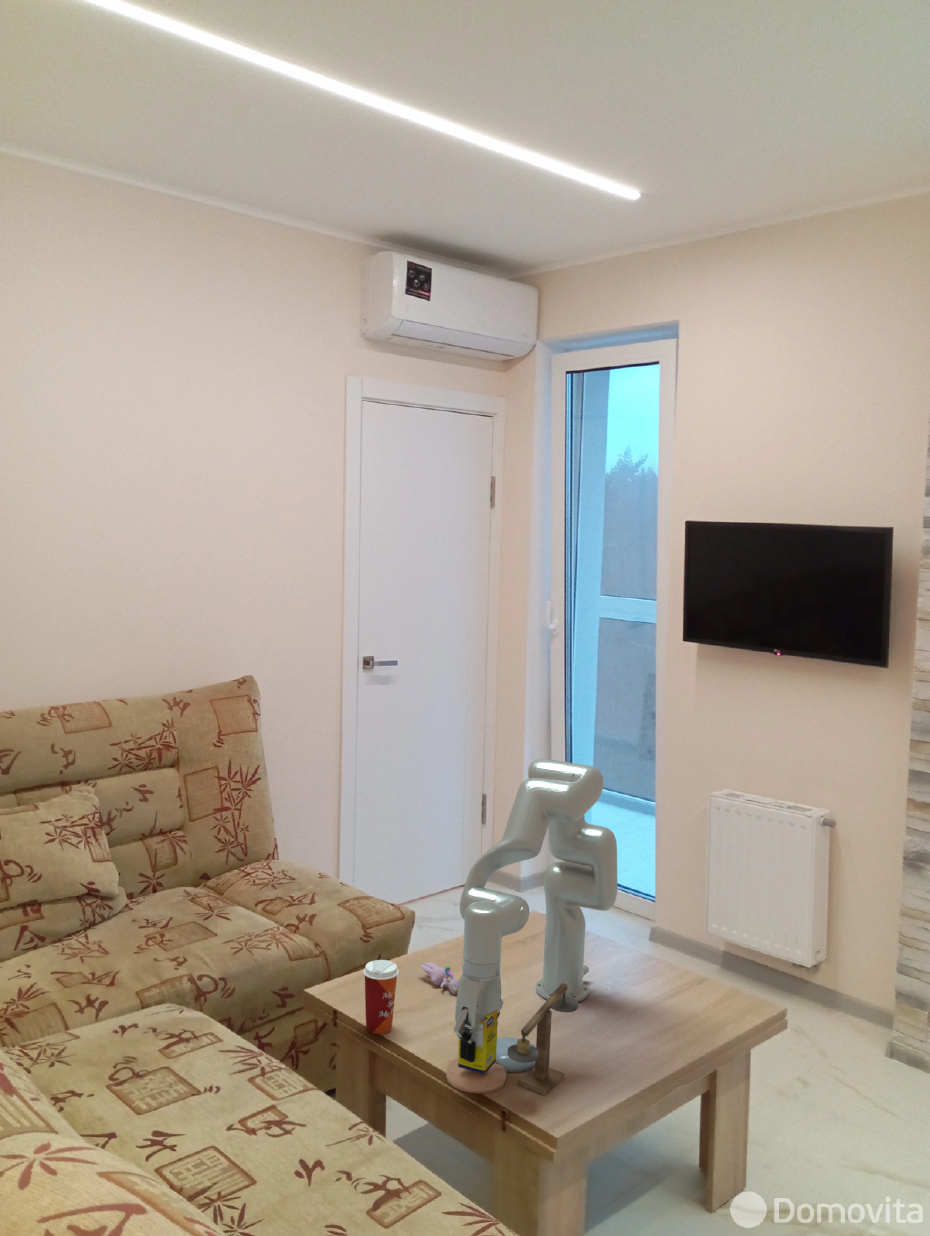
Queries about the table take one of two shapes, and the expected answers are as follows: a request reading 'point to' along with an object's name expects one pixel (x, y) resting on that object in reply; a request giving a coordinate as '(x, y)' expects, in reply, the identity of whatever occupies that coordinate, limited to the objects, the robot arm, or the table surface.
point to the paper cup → (380, 995)
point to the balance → (541, 1044)
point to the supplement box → (483, 1045)
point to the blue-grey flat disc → (505, 1060)
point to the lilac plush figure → (441, 976)
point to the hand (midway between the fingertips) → (477, 1051)
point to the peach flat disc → (476, 1078)
